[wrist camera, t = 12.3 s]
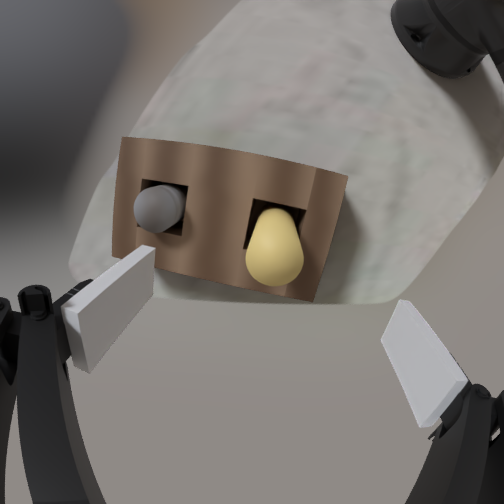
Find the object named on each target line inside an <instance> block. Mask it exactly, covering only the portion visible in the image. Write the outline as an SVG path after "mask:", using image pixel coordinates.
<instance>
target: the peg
mask: <svg viewBox="0 0 504 504" xmlns="http://www.w3.org/2000/svg"><path fill="white" fill-rule="evenodd" d="M303 262H304V256H303V251H302V247H301V244H300V240H299V237H298V233H297V230H296V227H295V223H294V220H293V216H292V213H291V211H290V209H289V208H288V207H287V206H286V205H283V204H279V203H274V202H271V203H268V204H266V205H265V206H264V207H263V208H262V210H261V212H260V214H259V217H258V220H257V223H256V226H255V229H254V231H253V234H252V237H251V240H250V243H249V246H248V249H247V252H246V266H247V269H248V271H249V272H250V274H251V275H252V277H253V278H254V279H256V280H257V281H258V282H260V283H262V284H264V285H268V286H282V285H285V284H287V283H290V282H291V281H293V280H294V279H295V278H296V277H297V276H298V275H299V273H300V271H301V269H302V267H303Z"/></svg>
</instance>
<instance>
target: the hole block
mask: <svg viewBox="0 0 504 504" xmlns="http://www.w3.org/2000/svg"><path fill="white" fill-rule="evenodd" d="M347 180H348V176H346V175H342V174H339V173H335V172H331V171H328V170H324V169H320V168H316V167H312V166H308V165H304V164H300V163H295V162H291V161H287V160H282V159H278V158H273V157H268V156H263V155H258V154H253V153H248V152H242V151H237V150H231V149H225V148H219V147H212V146H206V145H199V144H191V143H183V142H175V141H166V140H156V139H145V138H132V137H122V142H121V147H120V154H119V161H118V169H117V178H116V187H115V198H114V212H113V231H112V256H113V257H116V258H120V259H123V258H125V257H126V256H127V255H129V254H130V253H132V252H133V251H134V250H136V249H137V248H139V247H140V246H141V245H145V246H149V247H154V248H156V249H155V263H154V267H155V268H159V269H163V270H167V271H171V272H175V273H179V274H184V275H188V276H192V277H196V278H201V279H205V280H209V281H214V282H218V283H223V284H227V285H232V286H236V287H241V288H246V289H250V290H255V291H260V292H265V293H269V294H274V295H279V296H284V297H289V298H294V299H300V300H305V301H310V302H313V300H314V297H315V294H316V291H317V288H318V284H319V281H320V278H321V275H322V272H323V268H324V265H325V262H326V259H327V255H328V252H329V248H330V245H331V241H332V238H333V234H334V231H335V227H336V223H337V220H338V216H339V212H340V208H341V204H342V200H343V196H344V192H345V188H346V184H347ZM271 202H274V203H279V204H283V205H286V206H287V207H288V208H289V209H290V211H291V213H292V216H293V220H294V223H295V227H296V230H297V233H298V237H299V240H300V244H301V247H302V251H303V256H304V262H303V267H302V269H301V271H300V273H299V275H298V276H297V277H296V278H295V279H294V280H293V281H291V282H290V283H287V284H285V285H282V286H268V285H264V284H262V283H260V282H258V281H257V280H256V279H254V278H253V277H252V275H251V274H250V272H249V271H248V269H247V266H246V252H247V249H248V246H249V243H250V240H251V237H252V234H253V231H254V229H255V226H256V223H257V220H258V217H259V214H260V212H261V210H262V208H263V207H264V206H265V205H266V204H268V203H271Z"/></svg>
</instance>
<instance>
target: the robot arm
mask: <svg viewBox="0 0 504 504" xmlns="http://www.w3.org/2000/svg"><path fill="white" fill-rule="evenodd" d="M391 21H392V25H393V28H394V30H395V32H396V34H397V36H398V38H399V39H400V41H401V43H402V44H403V45H404V47H405V48H406V49H407V50H408V52H409V53H410V54H411V55H412V56H413V57H414V58H415V59H416V60H417V61H418V62H419V63H421V64H422V65H423V66H424V67H426V68H427V69H429V70H430V71H432V72H434V73H436V74H438V75H440V76H443V77H446V78H452V79H455V78H460V77H463V76H466V75H468V74H470V73H472V72H473V71H474V70H475V68H476V67H477V66H478V65H479V63H480V62H481V61H482V60H483V58H484V57H485V56H486V55H487V54H490V56H491V58H492V60H493V62H494V64H495V66H496V68H497V70H498V72H499V74H500V76H501V78H502V81H503V83H504V0H396V2H395V3H394V4H393V6H392V9H391ZM497 64H498V65H497ZM155 249H156V248H154V247H149V246H145V245H141V246H140V247H139V248H137V249H136V250H134V251H133V252H132V253H130V254H129V255H127V256H126V257H125V258H123V259H122V260H120V261H119V262H118V263H116V264H115V265H114V266H112V267H111V268H109V269H108V270H107V271H105V272H104V273H103V274H101V275H100V276H99V277H97V278H96V279H95V280H92V279H88V280H86V281H83V282H80V283H79V284H78V285H76V286H75V287H74V288H73V289H71V290H70V291H68V292H67V293H66V294H64V295H63V296H62V297H60V298H59V299H58V300H57V301H55V302H54V303H53V304H52V299H51V293H50V290H49V289H48V288H47V287H45V286H42V285H31V286H28V287H25V288H23V289H22V290H21V291H20V292H19V294H18V300H19V304H20V309H21V313H20V312H16V311H12V309H11V305H10V301H9V300H8V299H6V298H3V297H0V504H5V467H6V455H7V446H8V438H9V431H10V425H11V420H12V414H13V410H14V405H15V400H16V396H17V409H18V425H19V435H20V443H21V450H22V457H23V463H24V468H25V473H26V478H27V482H28V486H29V490H30V494H31V497H32V501H33V504H106V502H105V500H104V498H103V495H102V493H101V491H100V488H99V486H98V483H97V481H96V478H95V476H94V473H93V470H92V467H91V464H90V461H89V459H88V455H87V452H86V449H85V446H84V442H83V439H82V435H81V432H80V428H79V424H78V420H77V416H76V411H75V407H74V402H73V397H72V392H71V386H70V380H69V374H68V367H67V364H66V360H67V359H68V358H69V357H70V356H71V357H72V360H73V364H74V366H75V367H77V368H79V369H81V370H83V371H85V372H87V373H91V371H92V370H93V369H94V367H95V366H96V365H97V363H98V362H99V361H100V360H101V358H102V357H103V356H104V354H105V353H106V352H107V351H108V349H109V348H110V347H111V345H112V344H113V343H114V342H115V341H116V339H117V338H118V337H119V335H120V334H121V333H122V332H123V330H124V329H125V328H126V327H127V325H128V324H129V323H130V322H131V321H132V319H133V318H134V317H135V316H136V315H137V313H138V312H139V311H140V310H141V309H142V307H143V306H144V305H145V304H146V303H147V301H148V300H149V299H150V298H151V297H152V295H153V282H154V263H155ZM380 341H381V343H382V345H383V347H384V349H385V351H386V353H387V355H388V357H389V359H390V361H391V363H392V366H393V368H394V370H395V372H396V374H397V376H398V379H399V381H400V383H401V385H402V388H403V389H404V392H405V394H406V397H407V399H408V401H409V404H410V406H411V409H412V411H413V413H414V416H415V418H416V421H417V423H418V426H419V428H421V427H430V426H432V425H433V424H434V423H435V422H436V421H437V420H438V419H439V417H440V418H441V419H442V423H441V424H440V425H439V426H438V428H437V429H436V430H435V431H434V432H433V433H432V434H431V435H430V436H429V438H428V439H429V440H430V438H432V437H433V436H435V437H434V439H433V440H432V441H433V443H432V445H431V448H430V451H429V454H428V456H427V458H426V461H425V463H424V465H423V468H422V470H421V472H420V475H419V477H418V479H417V481H416V483H415V485H414V487H413V489H412V491H411V493H410V495H409V497H408V499H407V501H406V503H405V504H504V390H503V391H502V392H501V393H500V395H499V396H498V397H497V398H493V397H491V394H490V392H489V391H488V390H487V389H486V388H485V387H484V386H482V385H480V384H474V385H472V384H471V382H470V380H469V379H468V377H467V376H466V374H465V373H464V372H463V370H462V369H461V368H460V366H459V364H458V363H457V362H456V360H455V359H454V357H453V356H452V354H450V353H449V351H448V350H447V349H446V347H445V346H444V345H443V343H442V342H441V340H440V339H439V338H438V336H437V335H436V334H435V332H434V331H433V330H432V329H431V327H430V326H429V325H428V323H427V322H426V321H425V319H424V318H423V317H422V316H421V315H420V313H419V312H418V311H417V309H416V308H415V307H414V306H413V304H412V303H411V302H410V301H405V300H400V299H399V301H398V303H397V306H396V308H395V310H394V313H393V315H392V317H391V319H390V321H389V323H388V325H387V328H386V330H385V332H384V334H383V336H382V338H381V340H380ZM499 428H500V434H499V435H498V436H497V437H496V438H495V439H494V440H493V441H492V435H493V434H494V433H495V432H496V431H497V430H498V429H499Z"/></svg>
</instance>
